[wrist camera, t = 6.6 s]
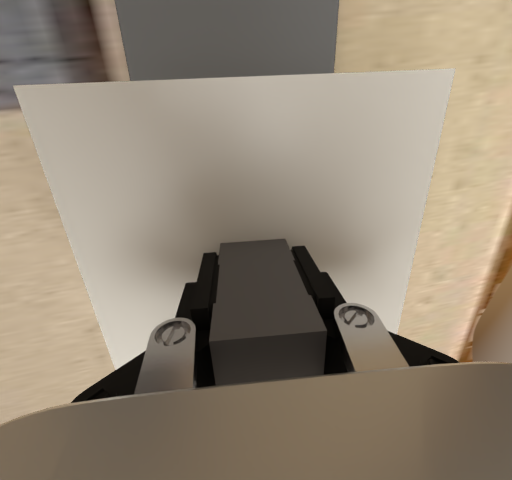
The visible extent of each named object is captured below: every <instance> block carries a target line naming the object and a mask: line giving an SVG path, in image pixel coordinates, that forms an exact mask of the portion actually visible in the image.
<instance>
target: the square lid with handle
mask: <svg viewBox="0 0 512 480" xmlns="http://www.w3.org/2000/svg"><path fill="white" fill-rule="evenodd" d="M455 69H456V68H454V69H428V70H403V71H377V72H351V73H326V74H300V75H274V76H248V77H223V78H197V79H171V80H146V81H120V82H94V83H69V84H43V85H17V86H13V87H14V90H15V93H16V95H17V98H18V101H19V104H20V106H21V109H22V112H23V115H24V118H25V120H26V123H27V126H28V129H29V131H30V134H31V137H32V140H33V143H34V145H35V148H36V151H37V154H38V156H39V159H40V162H41V165H42V168H43V170H44V173H45V176H46V179H47V181H48V184H49V187H50V190H51V192H52V195H53V198H54V201H55V204H56V206H57V209H58V212H59V215H60V217H61V220H62V223H63V226H64V229H65V231H66V234H67V237H68V240H69V242H70V245H71V248H72V251H73V254H74V256H75V259H76V262H77V265H78V267H79V270H80V273H81V276H82V279H83V281H84V284H85V287H86V290H87V292H88V295H89V298H90V301H91V303H92V306H93V309H94V312H95V315H96V317H97V320H98V323H99V326H100V328H101V331H102V334H103V337H104V340H105V342H106V345H107V348H108V351H109V353H110V356H111V359H112V362H113V365H114V367H115V370H117V369H118V368H120V367H121V366H123V365H124V364H126V363H127V362H129V361H130V360H132V359H133V358H135V357H136V356H138V355H139V354H141V353H143V352H144V351H146V348H147V344H148V341H149V337H150V334H151V332H152V331H153V330H154V328H155V327H156V326H158V325H159V324H161V323H162V322H164V321H166V320H169V319H173V318H175V316H176V313H177V309H178V306H179V303H180V300H181V296H182V293H183V290H184V287H185V284H186V283H189V282H197V278H198V274H199V270H200V266H201V262H202V257H203V253H210V252H216V254H217V255H219V259H218V265H220V267H219V277H218V287H217V297H216V303H213V311H212V320H211V329H210V337H209V345H210V351H211V358H212V364H213V371H214V377H215V384H216V386H219V385H228V384H237V383H247V382H257V381H267V380H277V379H287V378H297V377H307V376H317V375H324V363H325V351H326V339H327V329H326V327H325V325H324V323H323V320H322V318H321V316H320V314H319V312H318V309H317V307H316V305H315V303H314V301H313V298H312V296H311V295H308V293H307V291H306V289H305V286H304V284H303V282H302V279H301V277H300V275H299V273H298V270H297V268H296V266H295V264H294V261H293V260H295V259H294V257H293V255H292V252H291V249H292V246H305V247H306V249H307V250H308V252H309V254H310V255H311V257H312V259H313V260H314V262H315V264H316V265H317V267H318V269H319V270H320V272H327V273H328V274H329V276H330V277H331V279H332V281H333V282H334V284H335V285H336V287H337V288H338V290H339V292H340V293H341V295H342V296H343V298H344V299H345V301H346V302H347V303H357V304H361V305H364V306H366V307H369V308H370V309H372V310H373V311H375V313H376V314H377V315H378V316H379V318H380V320H381V321H382V323H383V324H384V326H385V328H386V329H387V331H390V332H392V333H394V334H397V332H398V327H399V323H400V318H401V314H402V309H403V305H404V300H405V296H406V291H407V287H408V282H409V277H410V273H411V268H412V264H413V259H414V255H415V250H416V246H417V241H418V237H419V232H420V228H421V223H422V219H423V214H424V209H425V205H426V200H427V196H428V191H429V187H430V182H431V178H432V173H433V169H434V164H435V160H436V155H437V150H438V146H439V141H440V137H441V132H442V128H443V123H444V119H445V114H446V110H447V105H448V101H449V96H450V91H451V87H452V82H453V78H454V73H455Z"/></svg>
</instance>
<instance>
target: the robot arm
mask: <svg viewBox="0 0 512 480" xmlns="http://www.w3.org/2000/svg"><path fill="white" fill-rule="evenodd" d="M291 252H292V255H293V257H294V259H295V260H293V261H294V264H295V266H296V268H297V270H298V273H299V275H300V277H301V279H302V282H303V284H304V286H305V289H306V291H307V293H308V295H311V296H312V298H313V301H314V303H315V305H316V307H317V309H318V312H319V314H320V316H321V318H322V320H323V323H324V325H325V327H326V329H327V339H326V351H325V363H324V375H317V376H307V377H297V378H287V379H277V380H267V381H257V382H247V383H237V384H228V385H219V386H216V384H215V377H214V371H213V364H212V358H211V351H210V345H209V337H210V329H211V320H212V311H213V303H216V297H217V287H218V277H219V267H220V265H218V259H219V255H217V254H216V252H210V253H203V257H202V262H201V266H200V270H199V274H198V278H197V282H189V283H186V284H185V287H184V290H183V293H182V296H181V300H180V303H179V306H178V309H177V313H176V316H175V318H173V319H169V320H166V321H164V322H162V323H161V324H159V325H158V326H156V327H155V328H154V330H153V331H152V332H151V334H150V337H149V341H148V344H147V348H146V351H144V352H143V353H141V354H139V355H138V356H136V357H135V358H133V359H132V360H130V361H129V362H127V363H126V364H124V365H123V366H121V367H120V368H118V369H117V370H115V371H114V372H112V373H111V374H109V375H108V376H106V377H105V378H103V379H102V380H100V381H98V382H97V383H95V384H94V385H92V386H91V387H89V388H88V389H86V390H85V391H83V392H82V393H81V394H80V395H78V396H77V397H76V398H75V399H74V400H73V401H72V402H71V403H69V404H65V405H60V406H55V407H51V408H46V409H43V410H40V411H37V412H33V413H30V414H27V415H23V416H21V417H18V418H16V419H13V420H11V421H8V422H6V423H3V424H1V425H0V480H512V363H503V362H467V363H459V362H458V361H457V360H455V359H453V358H451V357H449V356H447V355H445V354H443V353H440V352H438V351H436V350H433V349H431V348H428V347H426V346H423V345H421V344H419V343H416V342H414V341H411V340H409V339H406V338H404V337H402V336H399V335H397V334H394V333H392V332H390V331H387V329H386V328H385V326H384V324H383V323H382V321H381V320H380V318H379V316H378V315H377V314H376V313H375V311H373V310H372V309H370V308H369V307H366V306H364V305H361V304H357V303H347V302H346V301H345V299H344V298H343V296H342V295H341V293H340V292H339V290H338V288H337V287H336V285H335V284H334V282H333V281H332V279H331V277H330V276H329V274H328V273H327V272H320V270H319V269H318V267H317V265H316V264H315V262H314V260H313V259H312V257H311V255H310V254H309V252H308V250H307V249H306V247H305V246H292V249H291Z"/></svg>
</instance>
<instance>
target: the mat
mask: <svg viewBox="0 0 512 480" xmlns="http://www.w3.org/2000/svg"><path fill="white" fill-rule="evenodd" d="M115 4H116V9H117V15H118V20H119V25H120V30H121V35H122V40H123V45H124V50H125V55H126V61H127V66H128V71H129V76H130V81H146V80H171V79H197V78H223V77H248V76H274V75H300V74H326V73H334V63H335V50H336V36H337V22H338V9H339V0H115Z"/></svg>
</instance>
